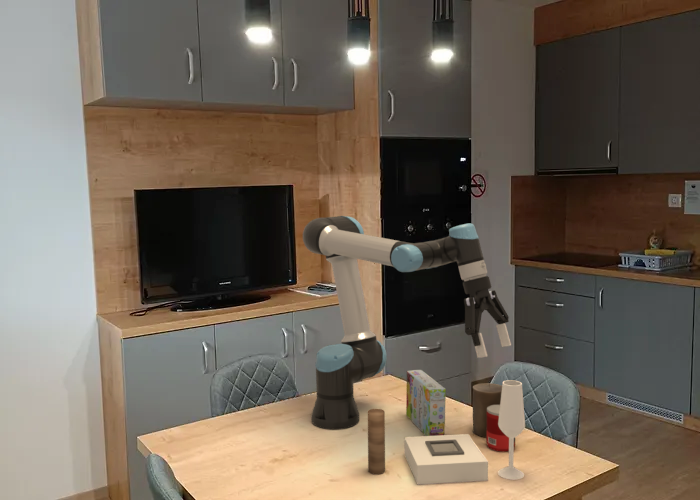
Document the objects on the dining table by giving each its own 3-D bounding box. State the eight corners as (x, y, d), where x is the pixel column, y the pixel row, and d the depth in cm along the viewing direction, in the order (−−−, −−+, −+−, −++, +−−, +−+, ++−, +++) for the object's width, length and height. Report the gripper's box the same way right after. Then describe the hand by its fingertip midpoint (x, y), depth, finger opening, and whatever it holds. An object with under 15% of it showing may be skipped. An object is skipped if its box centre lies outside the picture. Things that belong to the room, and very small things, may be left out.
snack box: (446, 438, 192) (446, 388, 190) (428, 440, 190) (428, 390, 189) (421, 413, 212) (421, 368, 211) (404, 415, 211) (404, 369, 209)
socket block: (404, 454, 181) (404, 435, 180) (468, 451, 182) (468, 431, 182) (417, 484, 163) (417, 463, 162) (487, 480, 164) (488, 459, 164)
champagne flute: (523, 469, 171) (525, 379, 168) (524, 480, 164) (526, 388, 162) (497, 467, 172) (498, 378, 170) (497, 478, 166) (498, 386, 163)
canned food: (515, 453, 181) (516, 414, 179) (486, 451, 182) (486, 413, 181) (514, 442, 188) (515, 405, 187) (486, 440, 190) (486, 403, 189)
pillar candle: (506, 439, 190) (507, 389, 189) (472, 437, 192) (472, 387, 191) (504, 427, 200) (505, 379, 198) (471, 425, 202) (472, 377, 200)
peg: (367, 467, 173) (366, 408, 171) (383, 466, 173) (383, 408, 171) (369, 474, 168) (368, 414, 167) (386, 474, 169) (385, 414, 167)
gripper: (462, 281, 173) (483, 360, 171) (507, 269, 191) (527, 340, 190) (439, 287, 178) (460, 363, 176) (486, 274, 196) (504, 343, 195)
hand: (495, 351), depth 183 cm, fingers open, 13 cm apart
